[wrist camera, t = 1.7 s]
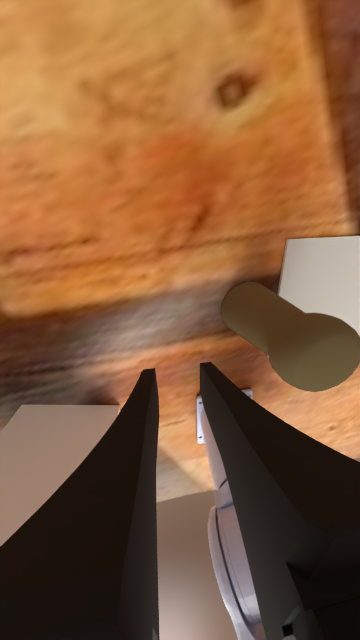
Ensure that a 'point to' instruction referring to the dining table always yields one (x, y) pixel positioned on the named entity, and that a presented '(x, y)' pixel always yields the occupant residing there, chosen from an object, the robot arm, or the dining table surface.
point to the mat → (323, 277)
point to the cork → (293, 337)
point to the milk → (44, 455)
